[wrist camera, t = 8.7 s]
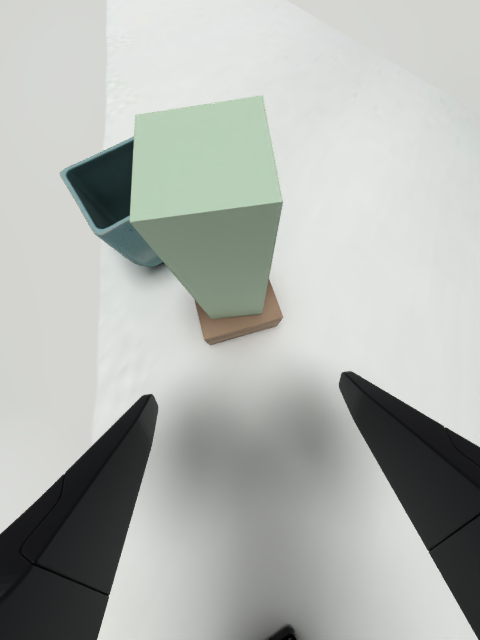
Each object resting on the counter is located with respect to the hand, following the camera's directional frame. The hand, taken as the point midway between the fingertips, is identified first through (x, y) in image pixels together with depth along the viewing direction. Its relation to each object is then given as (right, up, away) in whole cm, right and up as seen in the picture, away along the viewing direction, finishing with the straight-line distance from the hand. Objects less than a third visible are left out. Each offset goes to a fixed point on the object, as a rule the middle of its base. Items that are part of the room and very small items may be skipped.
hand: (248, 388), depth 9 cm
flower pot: (-11, +13, +17) cm, 24 cm away
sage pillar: (-1, +6, +10) cm, 12 cm away
